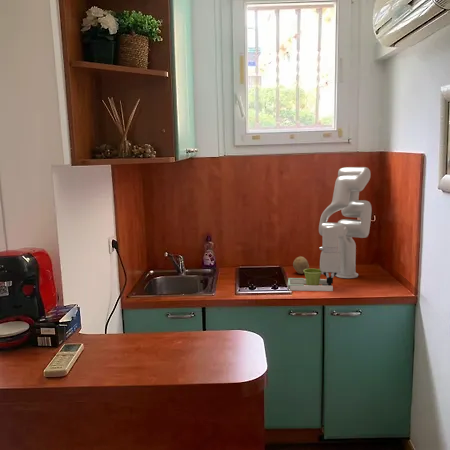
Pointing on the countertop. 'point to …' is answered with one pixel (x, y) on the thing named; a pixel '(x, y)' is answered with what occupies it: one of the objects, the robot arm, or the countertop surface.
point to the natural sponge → (300, 264)
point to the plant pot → (312, 276)
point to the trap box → (298, 285)
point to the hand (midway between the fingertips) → (329, 284)
